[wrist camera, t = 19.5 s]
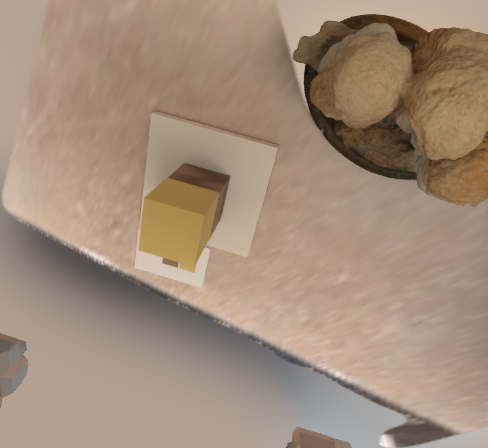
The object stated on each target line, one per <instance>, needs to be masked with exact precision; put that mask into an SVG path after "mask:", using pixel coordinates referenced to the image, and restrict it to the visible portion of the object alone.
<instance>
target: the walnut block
mask: <svg viewBox="0 0 488 448" xmlns="http://www.w3.org/2000/svg"><path fill="white" fill-rule="evenodd" d="M230 177H231V176H229V175H226V174H222V173H218V172H215V171H211V170H208V169H204V168H201V167H197V166H194V165H190V164H187V163H184V164H182V165H181V166H180V167H179V168H178V169H177V170H176V171H175V172H173V173H172V174H171V175H170V176H169V177H168V178H170V179H174V180H177V181H181V182H184V183H188V184H191V185H195V186H198V187H202V188H205V189H209V190H212V191H215V192H219V197H218V202H217V207H216V211H215V216H214V220H213V225H212V229H211V234H210V238H211V236H212V234H213V232H214V230H215V229H216V227H217V225H218V223H219V221H220V219H221V216H222V212H223V208H224V203H225V199H226V194H227V190H228V185H229V181H230ZM209 240H210V239H209Z"/></svg>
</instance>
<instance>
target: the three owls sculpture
mask: <svg viewBox="0 0 488 448" xmlns="http://www.w3.org/2000/svg"><path fill="white" fill-rule="evenodd" d="M293 59H294V60H295V61H296V62H299V63H305V64H306V65H305V72H304V88H305V89H304V90H305V96H306V100H307V104H308V107H309V110H310V113H311V115H312V117H313V119H314V121H315V123H316V125H317V126H318V128H319V129H320V130H321V129H323V126H325V127H326V134H325V132H324V133H323V134H324V136H325V138H326V139H327V140H328V141H329V142H330V143H331V144H332V146H333V147H334V148H336V150H338V152H340V153H341V154H342V155H344V156H345V157H346V158H347V159H349V160H350V161H352V162H353V163H355V164H356V165H358V166H360V167H362V168H364V169H366V170H368V171H370V172H372V173H376V174H379V175H382V176H385V177H389V178H395V179H404V180H410V179H413V180H415V179H417V184H418V186H419V188H420V189H421V190H423V191H424V192H425V193H426V194H427V195H431V196H433V197H435V198H439V199H441V200H445V201H447V202H450V203H455V204H457V205H471V206H476V205H477V204H479V203H480V202H481V201H484V200H486V199H487V198H488V35H487V34H483V33H479V32H473V31H471V30H469V29H460V28H449V29H447V28H440V29H434V30H433V31H431V32H430V33H429V32H427V31H426V30H424V29H422V28H421V27H419V26H417V25H415V24H412V23H410V22H407V21H405V20H402V19H399V18H395V17H391V16H386V15H376V14H371V15H370V14H369V15H360V16H354V17H351V18H347V19H345V20H343V21H341V22H336V21H327V22H325V23H324V24H323V25H322V26H321V29H320V32H319V33H317V34H315V35H314V36H311V37H309V36H308V37H306V36H303V37H302V38H301V39H300V41H299V44H298V48H297V50H295V51H294V54H293Z"/></svg>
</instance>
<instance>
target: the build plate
mask: <svg viewBox="0 0 488 448" xmlns="http://www.w3.org/2000/svg"><path fill="white" fill-rule="evenodd" d="M278 148H279V145H276V144H273V143H269V142H266V141H262V140H258V139H255V138H251V137H248V136H244V135H240V134H237V133H233V132H229V131H226V130H222V129H219V128H215V127H211V126H208V125H204V124H201V123H197V122H193V121H190V120H186V119H183V118H179V117H175V116H172V115H168V114H165V113H161V112H157V111H155V112H153V113H151V120H150V129H149V139H148V148H147V158H146V168H145V177H144V187H143V196H142V206H141V215H140V225H139V226H141V221H142V212H143V203H144V197H146V196H147V195H148V194H149V193H150V192H151V191H152V190H153V189H155V188H156V187H157V186H158V185H159V184H160V183H161V182H162V181H164V180H165V179H166V178H168V177H169V176H170V175H171V174H172V173H173V172H175V171H176V170H177V169H178V168H179V167H180V166H181V165H182V164H184V163H187V164H190V165H194V166H197V167H201V168H204V169H208V170H211V171H215V172H218V173H222V174H226V175H229V176H231V177H230V181H229V185H228V190H227V194H226V199H225V203H224V208H223V212H222V216H221V219H220V221H219V223H218V225H217V227H216V229H215V230H214V232H213V234H212V236H211V238H210V240H209V241H208V243H207V244H206V245H207V246H210V247H213V248H217V249H220V250H224V251H227V252H230V253H234V254H237V255H241V256H244V257H248V255H249V251H250V248H251V244H252V241H253V237H254V234H255V230H256V226H257V223H258V219H259V216H260V212H261V209H262V205H263V202H264V198H265V195H266V191H267V187H268V184H269V180H270V177H271V173H272V170H273V166H274V163H275V159H276V156H277V152H278Z"/></svg>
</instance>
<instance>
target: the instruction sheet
mask: <svg viewBox="0 0 488 448" xmlns="http://www.w3.org/2000/svg"><path fill="white" fill-rule="evenodd" d="M140 230H141V228H140V227H139V229H138V239H137V248H136V258H135V268H137V269H140V270H143V271H147V272H150V273H153V274H157V275H160V276H163V277H167V278H170V279H173V280H177V281H180V282H183V283H187V284H190V285H193V286H197V287H200V288H202V286H203V282H204V277H205V273H206V268H207V263H208V259H209V254H210V250H211V248H208V247H205V248H204V250H203V252H202V254H201V255H200V257H199V259H198V261H197V263H196V265H195V267H193V266H189V265H186V264H183V263H179V262H176V261H173V260H169V259H166V258H163V257H159V256H156V255H153V254H149V253H146V252H143V251H139V250H138V248H139V239H140Z"/></svg>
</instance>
